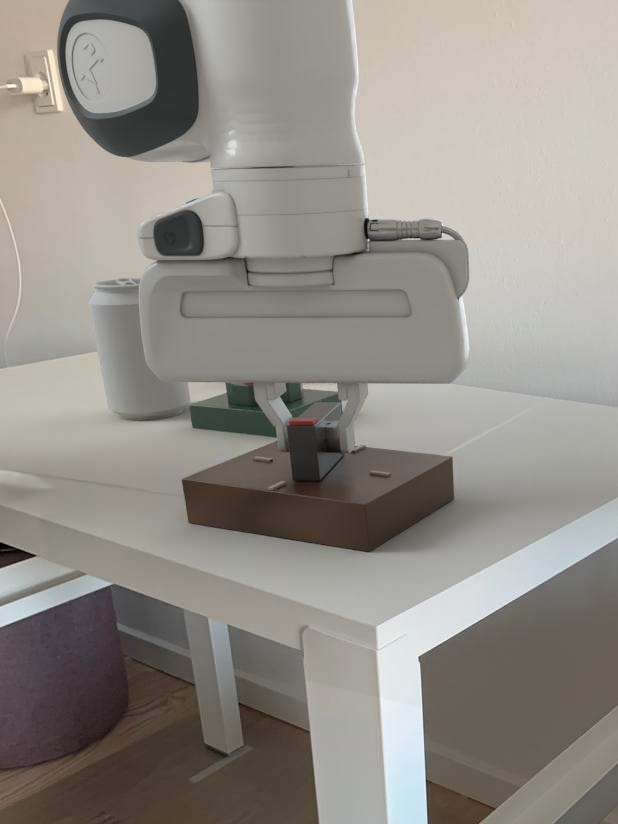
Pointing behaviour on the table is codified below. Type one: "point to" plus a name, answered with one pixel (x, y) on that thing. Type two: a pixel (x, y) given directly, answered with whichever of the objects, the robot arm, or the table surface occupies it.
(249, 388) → the button box
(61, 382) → the table surface
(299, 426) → the dark grey rectangular block
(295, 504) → the brown wooden base
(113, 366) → the can
